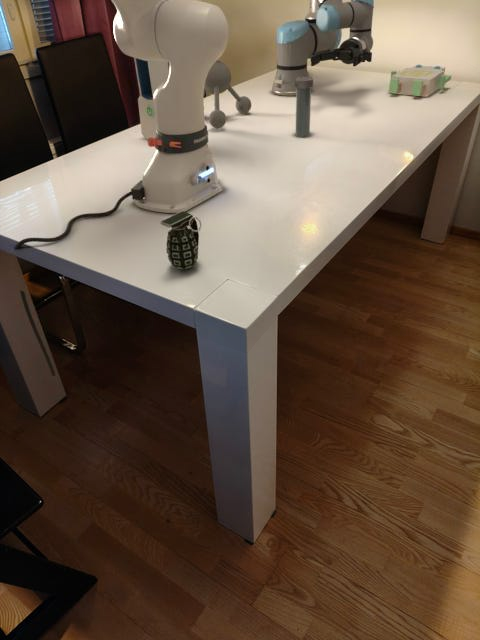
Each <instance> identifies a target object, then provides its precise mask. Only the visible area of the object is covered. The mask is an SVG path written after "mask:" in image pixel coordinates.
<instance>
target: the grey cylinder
mask: <svg viewBox="0 0 480 640" xmlns="http://www.w3.org/2000/svg"><path fill="white" fill-rule="evenodd" d="M311 103H312V87H311V88H307V89H299V88H297V91H296V98H295V136H296V137H297V138H307V137H309V136H310V133H311V132H310V131H311V130H310V129H311V107H312V105H311Z"/></svg>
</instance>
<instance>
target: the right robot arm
mask: <svg viewBox="0 0 480 640" xmlns="http://www.w3.org/2000/svg"><path fill="white" fill-rule="evenodd" d="M374 2H375V1H374V0H350V1H345V2H344V1H343V0H309V5H308V6H309V10H308V12H307V14H306V15H305V16H304V20H303V19H298V20H290V21H286V22H284V23H282V24H280V25H279V26H278V27H277V30H276V39H275V42H276V70H275V71H276V72H275V75H274V79H273V82H272V87H271V92H272V94H274V95H277V96H283V97H295V96H296V91H297V88H296V87H295V79H296V78H298V77H310V75H309V72H308V60H309V59H310V60H309V61H310V66H311V67H314V66H316V65H319V64H320V63H321V62H324V61H334V62H336V61H341V63H343V64H345V65H352V67H357V66H358V65H360V64H362V63H366V62H367V63H371V62H372V58H373V52H371V51H372V49H373V46H374V39H373V36H372V28H373V17H374V8H375V5H374V4H375V3H374ZM344 29H349V37H348V38H347V39H345V40H344V41H342V36H343V33H342V30H344ZM341 41H342V42H341Z"/></svg>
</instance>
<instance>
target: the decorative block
mask: <svg viewBox="0 0 480 640" xmlns="http://www.w3.org/2000/svg"><path fill="white" fill-rule="evenodd" d="M445 72H446V67H445V66H440V65H435V66H433V65H422V64H415V65H414V66H412V67H406V68H404V69H402V70H399V71H396V70H392V71H391V72H390V80H389V86H388V87H389V89H388V94H395V95H404V96H413V97H424V98H428V97H430V96H432V95H433V94H434V93H435V92H436V91H438V90H444V88H445V84H447V83H448V82H450V81H451V80H452V75H451V74H445Z"/></svg>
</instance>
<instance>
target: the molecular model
mask: <svg viewBox="0 0 480 640" xmlns="http://www.w3.org/2000/svg"><path fill="white" fill-rule="evenodd" d="M231 82H232V73H231V70H230V68H229V66H228V65H227V64H226V63H224V62H223V61H222V60H216V62H215V63H214V64H213V65H212V67H211V68H210V70H209V72H208V75H207V77H206V81H205V85H204V95H203V98H204V97H205V96H206V93H207V92H208V93H210V94H212V95H214V96H213V97H214V110H212V111H211V112H210V114H209V116H208V122H209V124H210V126H211V127H212V128H215V129H221V128H223V127H225V125H226V123H227V116H226V113H224V111H222V110H221V109H220V94H223V93H224V92H226V91H228V92H229V93H230V95H232V97H233V98H234V99H235V100H236V101H235V109H236V111H237V112H238V113H240V114H247V113H249V112H250V110H251V109H252V101H251V99H250V98H249V97H248V96H245V95H242V96H240V95H239V94H238V93H237V92H236V91H235V89H234V88H233V86H231Z"/></svg>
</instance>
